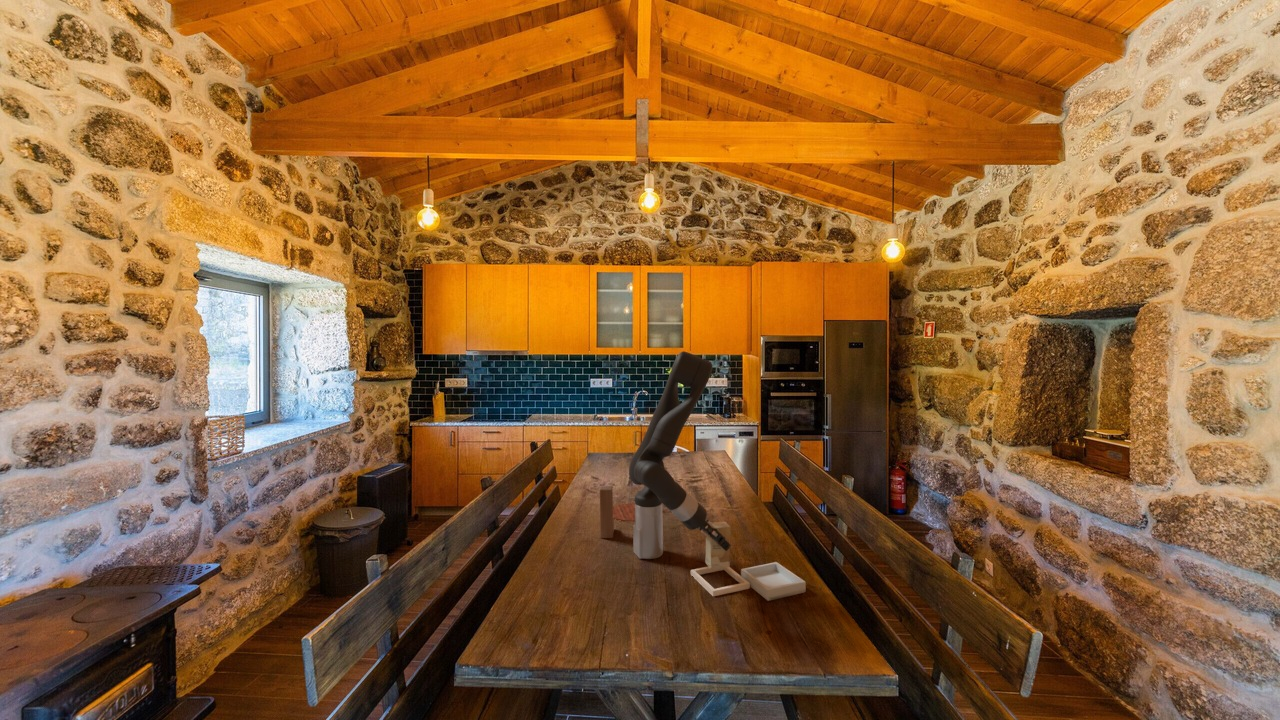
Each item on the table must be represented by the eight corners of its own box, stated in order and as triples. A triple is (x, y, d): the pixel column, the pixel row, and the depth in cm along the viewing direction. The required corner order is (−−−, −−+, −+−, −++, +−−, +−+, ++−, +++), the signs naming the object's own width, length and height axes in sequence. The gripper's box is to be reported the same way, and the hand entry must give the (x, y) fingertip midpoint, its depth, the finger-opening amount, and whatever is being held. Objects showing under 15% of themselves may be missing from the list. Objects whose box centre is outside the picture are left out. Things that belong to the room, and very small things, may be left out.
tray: (768, 600, 137) (768, 590, 137) (741, 579, 150) (741, 569, 150) (805, 592, 142) (805, 581, 141) (776, 571, 154) (776, 561, 154)
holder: (713, 596, 140) (713, 591, 140) (690, 574, 153) (690, 569, 153) (749, 588, 144) (749, 583, 144) (724, 567, 157) (724, 563, 157)
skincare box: (710, 569, 145) (711, 528, 145) (704, 563, 150) (705, 522, 149) (730, 566, 147) (731, 526, 147) (724, 560, 151) (724, 520, 151)
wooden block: (602, 529, 191) (601, 482, 190) (613, 529, 191) (613, 482, 190) (600, 538, 182) (599, 489, 181) (612, 538, 182) (612, 489, 181)
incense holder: (604, 507, 217) (604, 481, 217) (671, 501, 223) (671, 477, 222) (611, 524, 196) (610, 496, 196) (684, 518, 202) (684, 491, 202)
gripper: (707, 507, 138) (744, 543, 143) (684, 492, 151) (719, 526, 156) (689, 528, 136) (728, 565, 141) (668, 511, 150) (704, 545, 155)
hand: (723, 544), depth 149 cm, fingers closed on skincare box, 4 cm apart
